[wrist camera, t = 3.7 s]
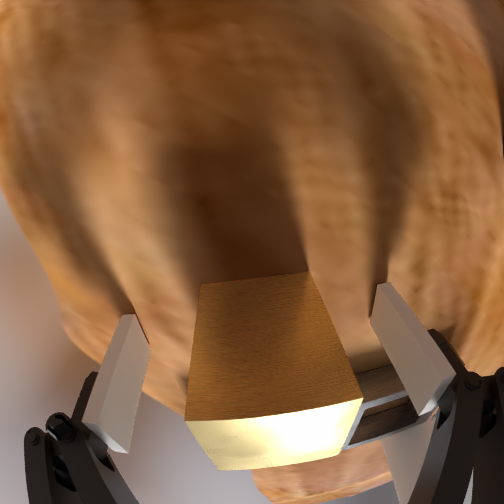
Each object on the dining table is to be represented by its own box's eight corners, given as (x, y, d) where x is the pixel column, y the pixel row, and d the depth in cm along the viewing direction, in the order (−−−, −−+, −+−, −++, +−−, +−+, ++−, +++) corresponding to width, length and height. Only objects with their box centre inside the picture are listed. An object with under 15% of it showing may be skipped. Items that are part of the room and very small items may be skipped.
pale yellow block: (201, 283, 13) (184, 421, 6) (308, 270, 13) (363, 397, 7) (219, 355, 15) (218, 470, 9) (306, 345, 15) (338, 454, 9)
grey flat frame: (193, 396, 17) (191, 426, 14) (450, 344, 17) (465, 364, 15) (218, 444, 21) (218, 467, 19) (417, 402, 21) (426, 421, 19)
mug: (375, 423, 22) (408, 519, 11) (432, 394, 21) (474, 483, 10) (376, 447, 26) (399, 519, 16) (422, 426, 25) (450, 494, 15)
